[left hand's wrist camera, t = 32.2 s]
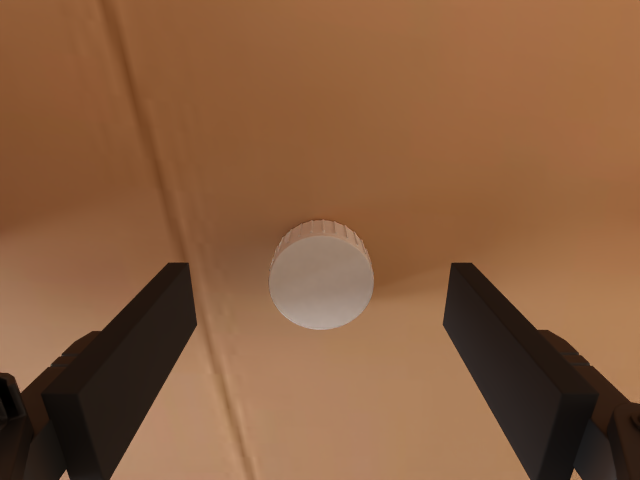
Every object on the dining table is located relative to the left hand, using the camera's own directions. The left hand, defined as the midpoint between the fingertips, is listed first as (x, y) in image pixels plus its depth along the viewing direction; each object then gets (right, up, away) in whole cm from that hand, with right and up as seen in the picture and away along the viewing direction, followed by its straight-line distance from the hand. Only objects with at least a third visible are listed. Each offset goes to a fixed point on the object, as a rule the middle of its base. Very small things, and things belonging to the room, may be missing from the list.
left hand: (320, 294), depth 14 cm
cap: (0, 0, +1) cm, 1 cm away
